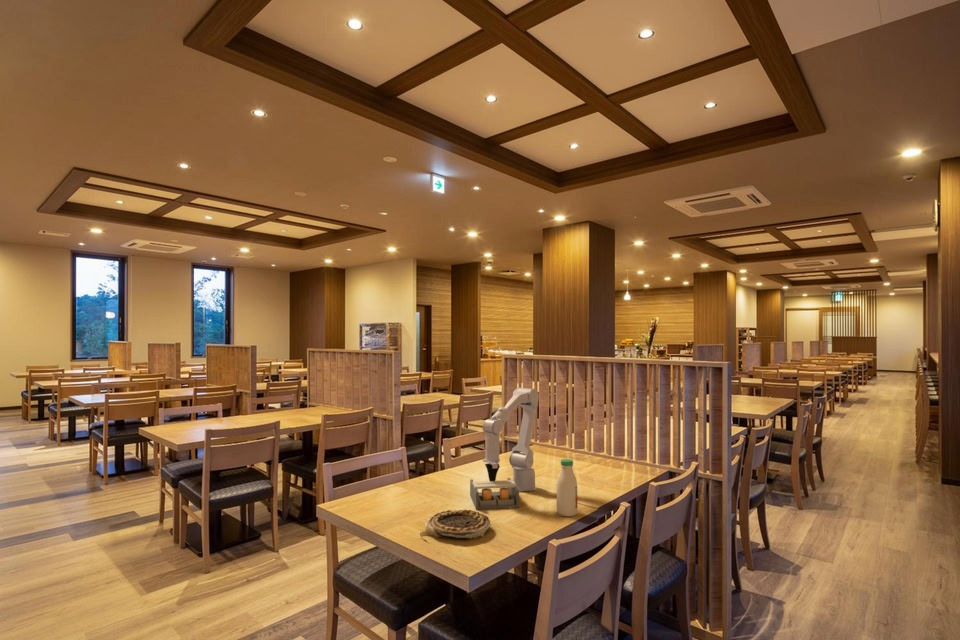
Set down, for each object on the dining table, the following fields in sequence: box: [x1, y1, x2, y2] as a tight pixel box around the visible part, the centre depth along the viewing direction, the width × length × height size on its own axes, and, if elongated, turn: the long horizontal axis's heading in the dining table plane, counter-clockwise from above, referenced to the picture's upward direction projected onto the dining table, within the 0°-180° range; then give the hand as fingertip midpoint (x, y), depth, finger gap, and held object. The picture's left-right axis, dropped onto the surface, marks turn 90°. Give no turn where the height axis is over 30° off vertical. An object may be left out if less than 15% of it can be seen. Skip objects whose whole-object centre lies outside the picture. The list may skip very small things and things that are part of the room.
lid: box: [472, 479, 516, 490], centre depth 202 cm, size 17×7×1 cm, turn 98°
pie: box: [419, 509, 491, 544], centre depth 172 cm, size 28×27×5 cm
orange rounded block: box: [499, 488, 510, 500], centre depth 199 cm, size 4×4×5 cm
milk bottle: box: [556, 458, 578, 517], centre depth 189 cm, size 8×8×20 cm
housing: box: [469, 477, 520, 511], centre depth 203 cm, size 17×18×7 cm
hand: (492, 481), depth 207 cm, fingers closed
